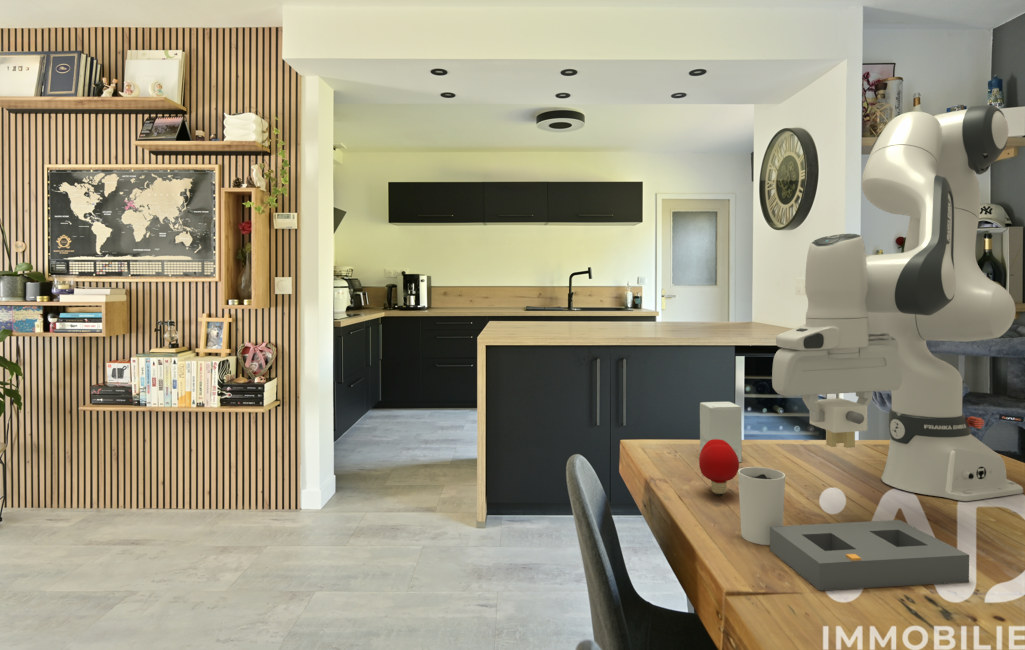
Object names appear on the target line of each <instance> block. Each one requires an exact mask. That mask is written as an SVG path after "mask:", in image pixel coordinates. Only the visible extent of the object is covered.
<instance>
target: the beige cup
mask: <svg viewBox="0 0 1025 650" xmlns="http://www.w3.org/2000/svg"><path fill="white" fill-rule="evenodd" d="M737 478H738V496H739V498H738V499H739V514H740V515H739V516H740V517H739V518H740V533H741V534H740V535H741V537H742V538H743V539H744V540H746V541H747V542H750V543H752V544H756V545H762V546H770V527H771V526H784V507H785V487H786V474H785V473H784V472H782V471H780V470H778V469H773V468H769V467H763V466H749V467H748V466H747V467H742V468H739V469H738V472H737Z"/></svg>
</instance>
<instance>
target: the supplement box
mask: <svg viewBox="0 0 1025 650" xmlns="http://www.w3.org/2000/svg"><path fill="white" fill-rule="evenodd" d="M712 439H720V440H724V441H726V442H727V443H728V444H729V445H730V446H731V447H732V448H733V450H734V451H735V453H736V455H737V457H738V460H739V463H742V461H743V460H742V459H743V450H742V449H743V447H742V446H743V445H742V442H743V441H742V406H740V405H738V404H736V403H734V402H731V401H703V402H700V403H699V447H700V448H699V452H700V453H701V450H702V448H703V447H704V445H705V444H706V443H707V442H708V441H709V440H712ZM700 453H699V454H700Z"/></svg>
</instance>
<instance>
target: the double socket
mask: <svg viewBox="0 0 1025 650" xmlns="http://www.w3.org/2000/svg"><path fill="white" fill-rule="evenodd" d="M769 551H770V552H772V553H773V554H774V555H775V556H777V558H779V559H780V560H781V561H782V562H784V564H786V565H787V566H789V567H790V568H791V569H792V570H794V571H795V572H796V573H797V574H798V575H800V576H801V577H802V578H804V579H805V580H806V581H807V582H808V583H810V585H812V586H813V587H814V588H815V589H816V590H818V591H836V590H837V591H839V590H841V591H842V590H853V589H858V590H859V589H868V588H869V589H871V588H888V587H902V586H903V587H905V586H906V587H907V586H921V585H922V586H923V585H939V584H954V583H969V582H970V554H968V553H967V552H964V551H962V550H961V549H958V548H956V547H954V546H952V545H951V544H948V543H947V542H945V541H943V540H941V539H939V538H937V537H934V536H933V535H931V534H929V533H927V532H924V531H923V530H921V529H918V528H917V527H915V526H913V525H910V524H909V523H907V522H905V521H903V520H902V519H895V520H894V519H893V520H875V521H874V520H872V521H869V520H868V521H852V522H851V521H850V522H834V523H833V522H832V523H831V522H830V523H815V524H813V523H812V524H798V525H797V524H795V525H794V524H791V525H783V526H771V527H770V545H769Z"/></svg>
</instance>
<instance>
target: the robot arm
mask: <svg viewBox="0 0 1025 650" xmlns="http://www.w3.org/2000/svg"><path fill="white" fill-rule="evenodd" d="M1008 137H1009V125H1008V121H1007V119H1006V116H1005V114H1004V113H1003V111H1002V110H1001V109H1000V108H998V107H996V106H995V105H994V104H992V105H990V104H984V105H983V104H982V105H975V106H970V107H969V108H967V109H960V110H954V111H950V112H949V111H948V112H945V113H940V114H935V115H932V114H930V113H928V112H924V111H909V112H903V113H901V114H900V115H897V116H895V117H894V118H892V119H891V120H890V121H889V122H888V123H887V124H886V125H885V126H884V129H882V132H881V133H880V134H879V136H877V138H876V140H875V141H874V142H873V144H872V146H871V149H870V152H869V153H870V154H869V156H868V159H867V161H866V165H865V167H864V169H863V172H862V179H861V189H862V192H863V194H864V196H865V198H866V199H867V200H868V202H869V203H870V204H872V205H873V206H875V207H876V208H877V209H879V210H882V211H883V212H886V213H889V214H893V215H902V216H908V217H909V221H908V227H907V232H906V236H905V237H906V238H905V243H904V247H903V251H904V252H898V253H883V254H881V253H880V254H868V253H866V248H865V242H864V239H863V237H862V235H861V234H857V233H841V234H839V233H838V234H833V235H829V236H823V237H819V238H817V239H815V240H813V241H812V242H811V243H810V244H809V246H808V249H807V256H806V263H805V264H806V265H805V276H804V277H805V281H804V283H805V284H804V286H805V287H804V288H805V289H804V290H805V294H806V298H807V310H806V312H805V323H803V324H802V325H800V326H798V327H794V328H792V329H790V330H787V331H784V332H782V333H779V334H777V335H776V338H775V344H776V346H777V347H778V348H779V349H778V350H777V351H776V353H775V354H774V357H773V361H772V370H771V372H772V375H771V383H772V384H771V385H772V389H773V390H774V391H775V393H777V394H778V395H782V396H784V397H798V396H799V397H802V401H803V403H804V405H805V406H806V408H807V409H808V410H809V421H810V420H811V421H813V422H824V420H825V418H824V411H821V410H819V409H818V407H817V405H816V404H815V401H818V400H819V395H833V394H834V395H835V394H852V393H855V396H856V397H858V398H857V400H856V403H859V404H863V405H867V408H868V407H869V405H870V403H871V402H872V401H873V392H885V391H886V392H889V391H890V392H891V408H890V409H889V410H888V429H889V431H888V432H889V437H890V438H889V446H888V454H887V458H886V462H885V466H884V469H883V472H882V474H881V477H880V478H881V479H880V480H881V481H882V482H883V483H884V484H886V485H888V486H890V487H893V488H896V489H899V490H903V491H906V492H910V493H917V494H920V495H926V496H927V495H928V496H935V497H941V498H942V497H943V498H946V499H951V500H955V501H959V502H960V501H961V502H969V501H977V500H985V499H991V498H999V497H1006V496H1012V495H1018V494H1023V493H1024V488H1023V486H1022V485H1020V484H1019V483H1016V482H1015V481H1013V480H1011V479H1007V469H1006V464H1005V461H1004V459H1003V457H1001V455H1000V454H999V453H997V452H996V451H995V450H993V449H991V448H990V447H989V446H988V445H986V444H984V443H983V442H982V441H980V439H978V438H977V437H975V436H974V435H973V434H972V431H971V428H973V427H974V428H975V429H982V428H983V427H984V426H985V420H984V419H983V418H982V417H976V416H969V417H967V416H965V415H964V414H963V377H962V375H961V373H960V371H959V370H958V369H957V368H956V367H954V366H953V365H952V364H950V363H949V362H947V361H944V360H942V359H941V358H938V357H936V356H934V355H933V353H931V351H930V349H929V348H928V346H927V345H928V344H927V341H939V342H940V341H941V342H943V341H944V342H946V341H947V342H948V341H949V342H967V343H968V342H977V341H984V340H991V339H998V338H1000V337H1002V336H1003V335H1004V334H1005V333H1007V331H1008V330H1009V329H1010V328H1011V326H1012V325H1013V323H1014V321H1015V316H1016V303H1015V301H1014V298H1013V297H1012V295H1011V293H1009V291H1008V290H1007V289H1006V288H1005V287H1003V286H1002V285H1000V284H998V282H997V283H996V282H994V281H993V280H992V279H991V278H989V277H988V276H987V275H985V273H984V272H983V271H982V270H981V268H980V266H979V265H978V261H977V258H976V242H977V233H978V226H979V220H980V214H981V213H980V211H981V192H980V191H981V190H980V183H979V179H978V177H977V176H976V175H982V174H984V173H986V172H988V170H989V169H990V168H991V164H993V163H994V162H995V161H996V160H998V158H999V157H1000V156H1001V154H1002V153H1003V152H1004V150H1005V149H1006V147H1007V143H1008ZM970 427H971V428H970Z"/></svg>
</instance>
